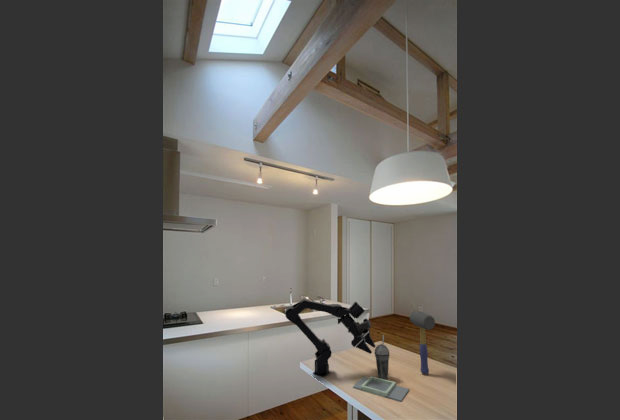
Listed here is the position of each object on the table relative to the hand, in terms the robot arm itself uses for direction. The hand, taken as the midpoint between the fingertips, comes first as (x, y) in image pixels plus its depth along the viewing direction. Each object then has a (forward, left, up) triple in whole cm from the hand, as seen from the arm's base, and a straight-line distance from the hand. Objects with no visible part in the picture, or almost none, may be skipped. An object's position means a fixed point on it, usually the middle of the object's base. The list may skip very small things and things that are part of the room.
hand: (373, 350), depth 144 cm
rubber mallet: (+20, +17, -13) cm, 29 cm away
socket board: (+7, -10, -12) cm, 18 cm away
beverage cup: (+4, +1, -13) cm, 13 cm away
